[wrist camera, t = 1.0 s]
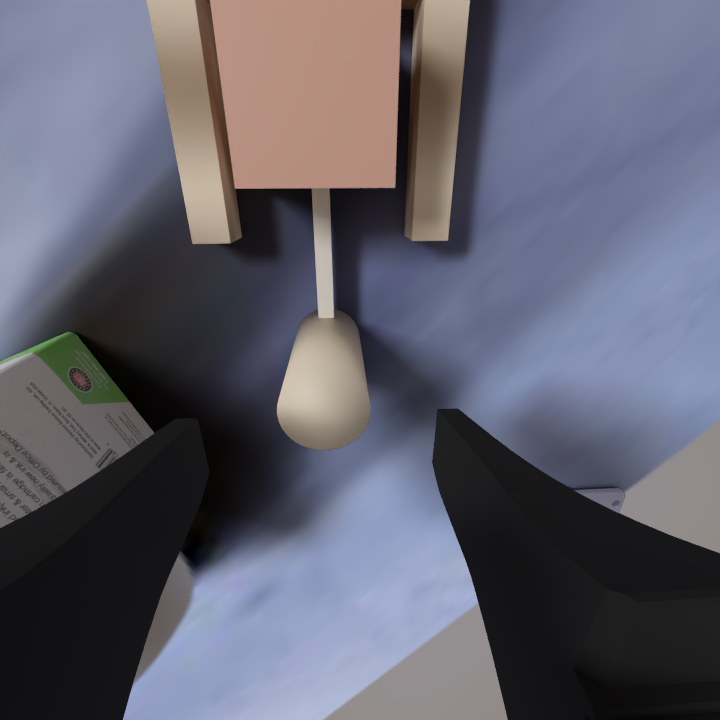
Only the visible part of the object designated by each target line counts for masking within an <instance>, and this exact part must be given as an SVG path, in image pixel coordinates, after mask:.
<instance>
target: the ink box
mask: <svg viewBox="0 0 720 720" xmlns="http://www.w3.org/2000/svg"><path fill="white" fill-rule="evenodd" d="M153 434H154V432H153V430H152V429H151V428H150V427H149V426H148V424H147V423H146V422H145V421H144V419H143V418H142V417H141V416H140V414H139V413H138V412H137V411H136V409H135V408H134V407H133V405H132V404H131V403H130V402H129V400H128V399H127V398H126V396H125V395H124V394H123V393H122V392H121V390H120V389H119V388H118V387H117V385H116V384H115V383H114V381H113V380H112V379H111V378H110V376H109V375H108V374H107V372H106V371H105V370H104V369H103V368H102V366H101V365H100V364H99V362H98V361H97V360H96V358H95V357H94V356H93V355H92V354H91V352H90V351H89V350H88V348H87V347H86V346H85V345H84V343H83V342H82V341H81V340H80V339H79V337H78V336H77V335H76V334H74V333H71V332H67V333H65V334H62V335H60V336H57V337H55V338H53V339H50V340H48V341H46V342H44V343H41V344H39V345H37V346H34V347H32V348H30V349H27V350H25V351H23V352H21V353H18V354H16V355H14V356H11V357H9V358H7V359H5V360H3V361H0V528H1V527H3V526H5V525H7V524H9V523H11V522H13V521H15V520H17V519H19V518H21V517H23V516H25V515H27V514H29V513H31V512H32V511H34V510H36V509H38V508H40V507H41V506H43V505H45V504H47V503H49V502H50V501H52V500H54V499H56V498H57V497H59V496H61V495H63V494H64V493H66V492H68V491H69V490H71V489H73V488H74V487H76V486H77V485H79V484H81V483H82V482H84V481H85V480H87V479H88V478H90V477H91V476H93V475H94V474H96V473H97V472H99V471H100V470H102V469H104V468H105V467H107V466H108V465H110V464H111V463H113V462H114V461H116V460H117V459H119V458H120V457H121V456H123V455H124V454H126V453H127V452H129V451H130V450H131V449H133V448H134V447H136V446H137V445H139V444H140V443H141V442H143V441H144V440H146V439H147V438H148V437H150V436H151V435H153Z"/></svg>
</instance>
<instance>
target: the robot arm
mask: <svg viewBox="0 0 720 720" xmlns="http://www.w3.org/2000/svg"><path fill="white" fill-rule="evenodd" d="M432 463H433V467H434V471H435V476H436V480H437V484H438V488H439V492H440V495H441V497H442V500H443V503H444V505H445V508H446V511H447V513H448V516H449V518H450V521H451V524H452V526H453V529H454V531H455V534H456V537H457V539H458V542H459V544H460V547H461V550H462V552H463V555H464V557H465V560H466V563H467V566H468V569H469V572H470V575H471V578H472V581H473V585H474V588H475V592H476V596H477V599H478V603H479V606H480V610H481V613H482V617H483V621H484V625H485V629H486V633H487V636H488V640H489V644H490V647H491V652H492V655H493V659H494V663H495V668H496V672H497V676H498V680H499V685H500V689H501V693H502V697H503V701H504V705H505V709H506V714H507V718H508V720H720V553H717V552H715V551H711V550H709V549H706V548H704V547H701V546H698V545H695V544H692V543H690V542H687V541H684V540H681V539H679V538H676V537H673V536H671V535H668V534H666V533H664V532H661V531H659V530H656V529H654V528H652V527H649V526H647V525H644V524H642V523H640V522H637V521H635V520H633V519H631V518H629V517H626V516H624V515H622V514H620V513H619V511H620V508H621V506H622V503H623V501H624V498H625V493H624V492H623V491H622V490H621V489H620V488H608V489H586V490H572V489H571V488H569V487H567V486H565V485H564V484H562V483H560V482H559V481H557V480H555V479H553V478H552V477H550V476H548V475H547V474H545V473H544V472H542V471H540V470H539V469H537V468H536V467H534V466H533V465H531V464H530V463H528V462H527V461H525V460H524V459H523V458H521V457H520V456H518V455H517V454H515V453H514V452H513V451H511V450H510V449H508V448H507V447H506V446H504V445H503V444H502V443H500V442H499V441H498V440H497V439H495V438H494V437H493V436H491V435H490V434H489V433H488V432H486V431H485V430H484V429H483V428H481V427H480V426H479V425H478V424H476V423H475V422H474V421H473V420H471V419H470V418H469V417H468V416H467V415H465V414H464V413H463V412H461V411H460V410H459V409H438V411H437V421H436V431H435V441H434V451H433V461H432ZM209 473H210V471H209V467H208V463H207V458H206V454H205V449H204V445H203V441H202V436H201V432H200V427H199V423H198V419H197V418H183V419H175V420H174V421H172V422H170V423H169V424H167V425H166V426H164V427H163V428H161V429H160V430H158V431H157V432H155V433H154V434H153V435H151V436H150V437H148V438H147V439H146V440H144V441H143V442H141V443H140V444H139V445H137V446H136V447H134V448H133V449H131V450H130V451H129V452H127V453H126V454H124V455H123V456H121V457H120V458H119V459H117V460H116V461H114V462H113V463H111V464H110V465H108V466H107V467H105V468H104V469H102V470H100V471H99V472H97V473H96V474H94V475H93V476H91V477H90V478H88V479H87V480H85V481H84V482H82V483H81V484H79V485H77V486H76V487H74V488H73V489H71V490H69V491H68V492H66V493H64V494H63V495H61V496H59V497H57V498H56V499H54V500H52V501H50V502H49V503H47V504H45V505H43V506H41V507H40V508H38V509H36V510H34V511H32V512H31V513H29V514H27V515H25V516H23V517H21V518H19V519H17V520H15V521H13V522H11V523H9V524H7V525H5V526H3V527H1V528H0V720H123V717H124V713H125V710H126V706H127V702H128V699H129V695H130V692H131V688H132V685H133V681H134V678H135V675H136V671H137V668H138V665H139V662H140V658H141V655H142V652H143V649H144V645H145V642H146V639H147V636H148V633H149V630H150V627H151V624H152V621H153V618H154V615H155V612H156V609H157V605H158V603H159V600H160V597H161V594H162V591H163V589H164V587H165V584H166V581H167V579H168V577H169V574H170V572H171V570H172V567H173V565H174V563H175V561H176V559H177V556H178V554H179V552H180V550H181V547H182V545H183V543H184V541H185V538H186V536H187V534H188V532H189V529H190V527H191V525H192V523H193V520H194V518H195V516H196V513H197V511H198V509H199V506H200V504H201V501H202V497H203V494H204V491H205V487H206V484H207V480H208V476H209Z"/></svg>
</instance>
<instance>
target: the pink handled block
mask: <svg viewBox="0 0 720 720" xmlns="http://www.w3.org/2000/svg"><path fill="white" fill-rule="evenodd" d="M210 4H211V12H212V20H213V27H214V35H215V42H216V50H217V57H218V65H219V72H220V80H221V87H222V95H223V102H224V110H225V117H226V125H227V132H228V140H229V147H230V155H231V162H232V170H233V178H234V185H235V189H277V188H312V205H313V224H314V242H315V261H316V279H317V298H318V310H315V311H313V312H311V313H310V314H308V315H307V316H306V317H305V318H304V319H303V320H302V322H301V323H300V326H299V328H298V331H297V335H296V339H295V342H294V346H293V350H292V353H291V357H290V360H289V364H288V368H287V371H286V375H285V379H284V382H283V386H282V389H281V393H280V397H279V400H278V404H277V416H278V420H279V423H280V425H281V427H282V429H283V431H284V432H285V433H286V434H287V435H288V436H289V437H290V438H291V439H292V440H293V441H295V442H296V443H298V444H300V445H302V446H304V447H307V448H311V449H316V450H332V449H337V448H340V447H343V446H346V445H348V444H350V443H351V442H353V441H354V440H356V439H357V438H358V437H359V436H360V435H361V434H362V433H363V431H364V430H365V428H366V427H367V424H368V422H369V418H370V402H369V395H368V388H367V382H366V375H365V369H364V362H363V356H362V349H361V343H360V336H359V331H358V328H357V325H356V323H355V322H354V321H353V319H352V318H351V317H350V316H349V315H347V314H346V313H344V312H342V311H340V310H337V309H334V299H333V271H332V242H331V214H330V188H395V180H396V149H397V118H398V87H399V55H400V24H401V0H210Z"/></svg>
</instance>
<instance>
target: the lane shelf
mask: <svg viewBox="0 0 720 720" xmlns="http://www.w3.org/2000/svg"><path fill="white" fill-rule="evenodd" d="M147 4H148V9H149V14H150V20H151V25H152V30H153V36H154V41H155V46H156V52H157V57H158V62H159V68H160V73H161V78H162V84H163V89H164V94H165V99H166V105H167V110H168V115H169V121H170V126H171V131H172V137H173V142H174V147H175V153H176V158H177V163H178V169H179V174H180V179H181V185H182V190H183V195H184V201H185V206H186V211H187V217H188V222H189V227H190V232H191V238H192V243H193V244H223V243H232V242H234V241H236V240H238V239H240V238H242V234H241V226H240V219H239V211H238V204H237V196H236V189H235V185H234V178H233V170H232V162H231V155H230V147H229V140H228V132H227V125H226V117H225V110H224V102H223V95H222V87H221V80H220V72H219V65H218V57H217V50H216V42H215V35H214V27H213V20H212V12H211V4H210V0H147ZM469 5H470V0H401V10H414V22H413V45H412V68H411V91H410V113H409V136H408V159H407V182H406V205H405V228H404V236H406V237H407V238H408V239H410V240H411V241H448V234H449V223H450V212H451V201H452V190H453V179H454V168H455V158H456V147H457V136H458V125H459V114H460V103H461V92H462V81H463V70H464V59H465V48H466V37H467V27H468V16H469Z"/></svg>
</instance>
